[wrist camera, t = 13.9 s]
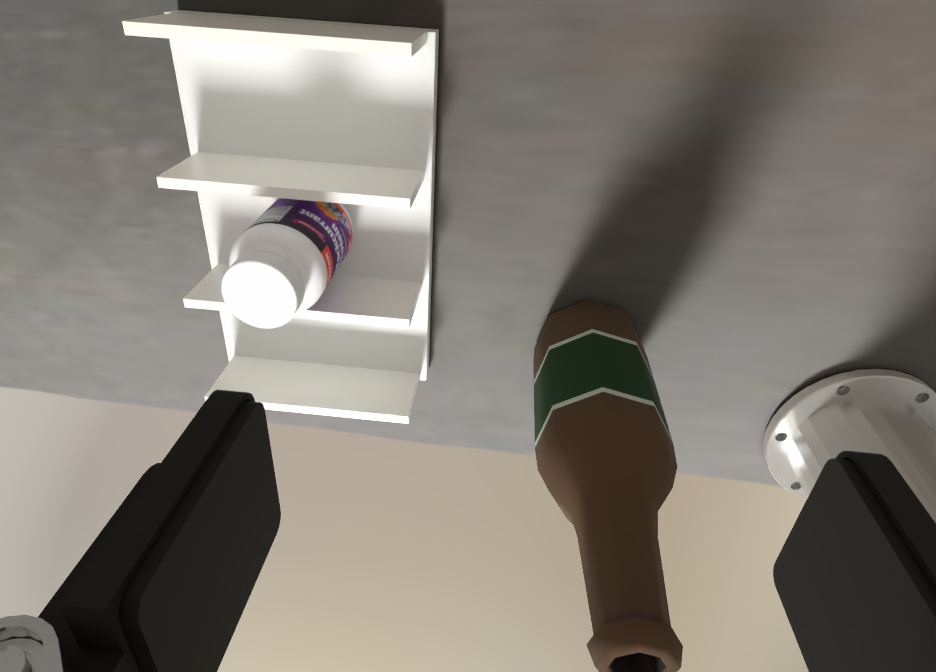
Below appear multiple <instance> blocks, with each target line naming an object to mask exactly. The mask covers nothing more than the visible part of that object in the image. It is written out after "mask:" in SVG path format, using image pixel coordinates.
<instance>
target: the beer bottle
mask: <svg viewBox="0 0 936 672" xmlns="http://www.w3.org/2000/svg"><path fill="white" fill-rule="evenodd" d="M534 416H535V451H536V459H537V466H538V471H539V473H540V475H541V476H542V478H543V480H544V482H545V484H546V486H547V488H548V490H549V491H550V493H551V495H552V496H553V498H554V499H555V501H556V502H557V504H558V505H559V507H560V508H561V510H562V511H563V513H564V515H565V516H566V518H567V519H568V520H569V521H570V522H571V523H572V524H573V525H574V527H575V530H576V534H577V537H578V543H579V549H580V555H581V561H582V566H583V573H584V579H585V585H586V591H587V597H588V603H589V609H590V615H591V621H592V627H593V634H594V635H593V637H592V638H591V639H590V641H589V642H588V644H587V647H588V650H589V652H590V655H591V657H592V660H593V662H594V665H595V667H596V668H597V669H598V671H599V672H677V671H678V670H679V669H680V668H681V661H682V649H683V646H682V644H681V642H680V641H679V639H678V638H677V636H676V634H675V633H674V631H673V629H672V628H671V625H670V617H669V611H668V604H667V597H666V591H665V584H664V577H663V570H662V563H661V556H660V549H659V543H658V510H659V509H660V507H661V505H662V504H663V502H664V501H665V499H666V497H667V496H668V494H669V493H670V491H671V489H672V488H673V483H674V479H675V474H676V470H677V463H676V457H675V452H674V446H673V442H672V439H671V435H670V432H669V429H668V425H667V422H666V419H665V415H664V412H663V409H662V405H661V402H660V399H659V395H658V392H657V389H656V385H655V382H654V379H653V375H652V372H651V369H650V365H649V362H648V359H647V356H646V353H645V351H644V348H643V346H642V343H641V341H640V339H639V337H638V335H637V333H636V331H635V329H634V326H633V324H632V322H631V320H630V318H629V316H628V314H627V312H626V311H624V310H621V309H618V308H614V307H611V306H608V305H604V304H601V303H598V302H594V301H591V300H588V299H586V300H583V301H581V302H579V303H576V304H574V305H571V306H569V307H567V308H564V309H562V310H559V311H557V312H555V313H552V314H550V315H549V316H548V318H547V320H546V323H545V325H544V327H543V330H542V332H541V334H540V337H539V339H538V342H537V344H536V346H535V351H534Z"/></svg>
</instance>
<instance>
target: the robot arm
mask: <svg viewBox="0 0 936 672" xmlns="http://www.w3.org/2000/svg"><path fill="white" fill-rule="evenodd" d="M763 455H764V458H765V461H766V464H767V466H768V468H769V470H770V472H771V474H772V476H773V477H774V478H775V479H776V481H777V482H778V483H779V484H780V485H781V486H782V487H784V488H785V489H787V490H788V491H790V492H792V493H794V494H796V495H798V496H801V497H803V498H807V501H806V503H805V504H804V507H803V508H802V511H801V512H800V514H799V516H798V518H797V520H796V522H795V524H794V527H793V528H792V530H791V532H790V534H789V536H788V538H787V540H786V542H785V544H784V546H783V548H782V550H781V552H780V554H779V556H778V558H777V560H776V562H775V565H774V570H773V576H774V583H775V586H776V589H777V591H778V594H779V596H780V599H781V601H782V604H783V607H784V609H785V612H786V614H787V617H788V619H789V622H790V624H791V627H792V630H793V632H794V634H795V637H796V639H797V642H798V645H799V647H800V650H801V652H802V655H803V658H804V660H805V663H806V665H807V668H808V670H809V672H936V393H935V391H934V390H933V389H932V388H930V387H929V386H928V385H927V384H926V383H924V382H923V381H922V380H920V379H918V378H916V377H914V376H912V375H909V374H906V373H902V372H898V371H895V370H885V369H864V370H855V371H850V372H845V373H840V374H837V375H834V376H831V377H828V378H825V379H822V380H820V381H818V382H816V383H814V384H812V385H810V386H808V387H806V388H804V389H803V390H801V391H800V392H798V393H797V394H796V395H794V396H793V397H791V398H790V399H789V400H788V401H787V402H786V403H785V404H784V405H783V406H782V407H780V409H779V410H778V411H777V413H776V414H775V415H774V417H773V418H772V419H771V421H770V423H769V425H768V427H767V429H766V431H765V436H764V440H763ZM280 517H281V512H280V504H279V498H278V491H277V485H276V479H275V472H274V466H273V460H272V454H271V447H270V440H269V434H268V429H267V421H266V415H265V409H264V405H263V404H262V403H260V402H255V400H254V397H253V395H252V394H251V393H248V392H238V391H227V390H215V391H214V392H213V393H212V394H211V395H210V396H209V397H208V399H207V400H206V402H205V403H204V404H203V406H202V407H201V408H200V410H199V411H198V413H197V414H196V416H195V417H194V418H193V420H192V421H191V422H190V424H189V425H188V426H187V428H186V429H185V431H184V432H183V433H182V435H181V436H180V438H179V439H178V440H177V442H176V443H175V445H174V446H173V448H172V449H171V450H170V452H169V453H168V454H167V456H166V457H165V458H164V460H163V461H162V463H157V464H155V465H153V466H151V467H150V468H149V469H148V470H147V471H146V472H145V473H144V474H143V476H142V477H141V478H140V480H139V481H138V483H137V484H136V485H135V487H134V488H133V489H132V491H131V492H130V494H129V495H128V496H127V498H126V499H125V500H124V502H123V503H122V504H121V506H120V507H119V508H118V510H117V511H116V512H115V514H114V515H113V516H112V518H111V519H110V520H109V522H108V523H107V525H106V526H105V527H104V529H103V530H102V531H101V533H100V534H99V535H98V537H97V538H96V539H95V541H94V542H93V543H92V545H91V546H90V547H89V549H88V550H87V552H86V553H85V554H84V556H83V557H82V558H81V560H80V561H79V562H78V564H77V565H76V566H75V568H74V569H73V570H72V572H71V573H70V574H69V576H68V577H67V579H66V580H65V581H64V583H63V584H62V585H61V587H60V588H59V589H58V591H57V592H56V593H55V595H54V596H53V597H52V599H51V600H50V602H49V603H48V604H47V606H46V607H45V608H44V610H43V611H42V612H41V614H40V615H39V617H33V616H28V615H19V616H9V617H4V618H1V619H0V672H217V670H218V667H219V665H220V663H221V661H222V659H223V656H224V654H225V652H226V649H227V647H228V645H229V642H230V640H231V638H232V636H233V633H234V631H235V629H236V626H237V624H238V622H239V619H240V617H241V615H242V613H243V610H244V608H245V606H246V603H247V601H248V599H249V596H250V594H251V592H252V589H253V587H254V585H255V582H256V580H257V578H258V576H259V573H260V571H261V569H262V566H263V564H264V562H265V559H266V557H267V555H268V553H269V550H270V548H271V546H272V543H273V541H274V539H275V536H276V534H277V531H278V528H279V524H280Z"/></svg>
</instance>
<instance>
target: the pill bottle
mask: <svg viewBox="0 0 936 672" xmlns="http://www.w3.org/2000/svg"><path fill="white" fill-rule="evenodd" d="M353 236H354V229H353V223H352V220H351V217H350V215H349V213H348V211H347V210H346V208H345V207H344V205H343V204H342V203H331V202H319V201H308V200H296V199H285V198H278V199H277V200H276V201H275V202H274V203H273V204H272V205H271V206H270V207H269V208H268V209H267V210H266V211H265V212H264V213H263V214H262V215H261V216H260V217H259V218H258V219H257V220H256V221H255V222H254V223H253V224H252V225H250V226H249V227H248V228H247V229H246V230H245V231H244V232H243V233H242V234H241V235H240V237H239V238H238V239H237V240H236V242H235V243H234V245H233V247H232V249H231V253H230V258H229V269H228V270H227V271H226V272H225V274H224V276H223V279H222V284H221V290H222V296H223V299H224V301H225V303H226V305H227V307H228V308H229V309H230V311H231V312H232V313H233V314H234V315H235V316H236V317H238V318H239V319H240V320H242V321H243V322H245V323H247V324H249V325H251V326H254V327H258V328H266V329H268V328H276V327H280V326H282V325H284V324H286V323H287V322H289V321H290V320H291V318H292V317H293V316H294V315H295V314H296V313H299V312H302V311H304V310H306V309H308V308H310V307H311V306H312V305H314V304H315V303H316V302H317V301H318V299H319V298H320V297H321V295H322V294H323V292H324V290H325V289H326V287H327V285H328V284H329V282H330V280H331V279H332V277H333V275H334V274H335V272H336V271H337V269H338V267H339V266H340V264H341V263H342V261H343V260H344V258H345V256H346V255H347V253H348V251H349V249H350V247H351V245H352V242H353Z"/></svg>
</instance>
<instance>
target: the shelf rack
mask: <svg viewBox="0 0 936 672" xmlns="http://www.w3.org/2000/svg"><path fill="white" fill-rule="evenodd" d="M164 13H165V14H162V15H156V16H150V17H144V18H138V19H132V20H126V21H122V23H123V28H124V32H125V35H131V36H144V37H157V38H169V40H170V45H171V51H172V56H173V61H174V67H175V72H176V78H177V83H178V89H179V94H180V99H181V105H182V110H183V116H184V121H185V126H186V132H187V137H188V143H189V148H190V153H191V156H190V157H189V158H187V159H185V160H184V161H182V162H180V163H179V164H177V165H175V166H174V167H172V168H170V169H169V170H167V171H165V172H164V173H162V174H160V175H159V176H157V177H156V178H157V183H158V187H159V188H169V189H180V190H192V191H198V197H199V202H200V208H201V213H202V218H203V224H204V229H205V235H206V240H207V245H208V251H209V256H210V262H211V267H212V270H211V271H210V272H209V273H208V274H207V275H206V276H205V277H204V278H203V279H202V280H201V281H200V282H199V283H198V284H197V285H196V286H195V287H194V288H193V289H192V290H191V291H190V292H189V293H188V294H187V295H186V296H185V297H184V298H183V301H184V306H185V307H188V308H199V309H209V310H220V316H221V321H222V327H223V332H224V337H225V343H226V348H227V354H228V359H229V364H228V365H227V366H226V368H225V369H224V370H223V372H222V373H221V374H220V376H219V377H218V379H217V380H216V381H215V383H214V384H213V385H212V387H211V388H210V390H209V391H208V392H207V394H206V395H205V396H204V397H205V401H206V400H207V399H208V397H209V396H210V395H211V394H212V393H213V392H214V391H215V390H227V391H238V392H248V393H251V394H252V395H253V397H254V400H255V402H260V403H262V404H263V405H264V409H267V410H277V411H287V412H297V413H307V414H317V415H327V416H337V417H347V418H357V419H367V420H377V421H387V422H397V423H407V424H408V423H409V419H410V415H411V411H412V407H413V403H414V399H415V395H416V391H417V387H418V384H419V380H425V381H426V379H427V374H428V370H429V345H430V311H431V278H432V245H433V211H434V178H435V144H436V111H437V77H438V44H439V29H426V28H412V27H399V26H386V25H372V24H359V23H346V22H332V21H319V20H305V19H292V18H279V17H265V16H252V15H239V14H225V13H212V12H199V11H185V10H174V11H168V12H164ZM278 198H285V199H296V200H308V201H319V202H331V203H342V204H343V205H344V207H345V208H346V210H347V211H348V213H349V215H350V217H351V220H352V223H353V229H354V236H353V242H352V245H351V247H350V249H349V251H348V253H347V255H346V256H345V258H344V260H343V261H342V263H341V264H340V266H339V267H338V269H337V271H336V272H335V274H334V275H333V277H332V279H331V280H330V282H329V284H328V285H327V287H326V289H325V290H324V292H323V294H322V295H321V297H320V298H319V299H318V301H317V302H316V303H315V304H314V305H312V306H311V307H310V308H308V309H306V310H304V311H302V312H299V313H296V314H295V315H294V316H293V317H292V318H291V320H290V321H289V322H287V323H286V324H284V325H282V326H280V327H276V328H268V329H266V328H258V327H254V326H251V325H249V324H247V323H245V322H243V321H242V320H240V319H239V318H238V317H236V316H235V315H234V314H233V313H232V312H231V311H230V309H229V308H228V307H227V305H226V303H225V301H224V299H223V296H222V290H221V284H222V279H223V276H224V274H225V272H226V271H227V270H228V269H229V258H230V253H231V249H232V247H233V245H234V243H235V242H236V240H237V239H238V238H239V237H240V235H241V234H242V233H243V232H244V231H245V230H246V229H247V228H248V227H249V226H250V225H252V224H253V223H254V222H255V221H256V220H257V219H258V218H259V217H260V216H261V215H262V214H263V213H264V212H265V211H266V210H267V209H268V208H269V207H270V206H271V205H272V204H273V203H274V202H275V201H276V200H277V199H278Z"/></svg>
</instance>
